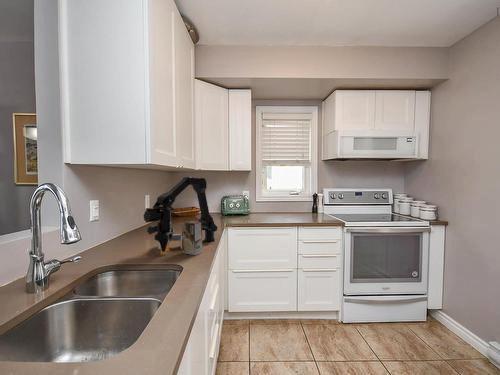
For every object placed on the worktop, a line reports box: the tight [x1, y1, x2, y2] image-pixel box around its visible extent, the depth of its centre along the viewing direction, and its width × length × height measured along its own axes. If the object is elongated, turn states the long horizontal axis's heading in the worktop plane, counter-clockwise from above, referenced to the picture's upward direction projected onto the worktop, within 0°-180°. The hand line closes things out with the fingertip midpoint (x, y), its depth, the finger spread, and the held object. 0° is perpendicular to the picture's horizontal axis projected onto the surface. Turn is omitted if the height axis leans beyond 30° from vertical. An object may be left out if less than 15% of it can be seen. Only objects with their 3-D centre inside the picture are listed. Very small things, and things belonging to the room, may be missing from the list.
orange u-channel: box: [160, 241, 170, 256], centre depth 134 cm, size 7×3×7 cm, turn 7°
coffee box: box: [181, 220, 203, 256], centre depth 134 cm, size 9×6×16 cm
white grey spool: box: [157, 233, 182, 250], centre depth 144 cm, size 16×7×7 cm, turn 97°
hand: (164, 249), depth 134 cm, fingers closed on orange u-channel, 7 cm apart
